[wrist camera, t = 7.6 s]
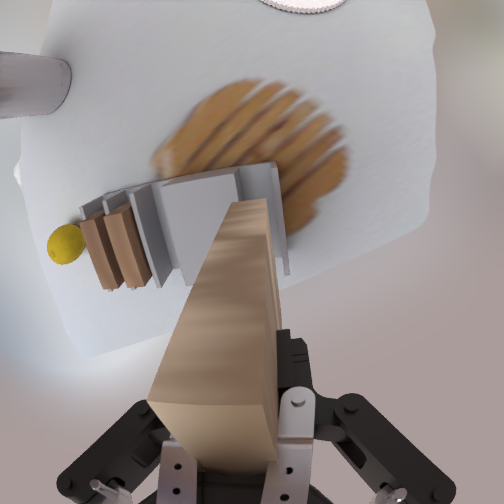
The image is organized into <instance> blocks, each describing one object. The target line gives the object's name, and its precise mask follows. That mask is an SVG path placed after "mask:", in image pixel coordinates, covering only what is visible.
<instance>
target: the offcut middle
mask: <svg viewBox="0 0 504 504" xmlns="http://www.w3.org/2000/svg"><path fill="white" fill-rule="evenodd" d="M103 218H104V221H105V225H106V228H107V231H108V234H109V238H110V241H111V244H112V247H113V250H114V253H115V255H116V258H117V261H118V264H119V267H120V269H121V272H122V275H123V277H124V280H125V283H126V285H127V288H131V287H144V286H145V285H146V284H147V282H148V281H149V280H150V278H151V277H152V272H151V269H150V266H149V263H148V260H147V256H146V253H145V250H144V247H143V244H142V240H141V237H140V234H139V230H138V227H137V223H136V220H135V216H134V212H133V209H132V205H131V201H128V202H127V203H125V204H123V205H122V206H120V207H119V208H117V209H115V210H114V211H112V212H111V213H109V214H107V215H106V216H104V217H103Z"/></svg>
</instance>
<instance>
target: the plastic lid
mask: <svg viewBox="0 0 504 504" xmlns="http://www.w3.org/2000/svg"><path fill="white" fill-rule="evenodd" d="M260 1H264V3H265V4H266V3H267V4H268V5H269V6H270V5H272V6H273V7H274V8H275V7H277V9H282V10H284V11H285V10H287V11H288V12H290V11H292V12H294V13H295V12H298V13H300V12H302V13H306V12H307V13H310V12H312V13H315V12H318V13H320V11H322V12H324V11H325V10H326V11H328V10H329V9H333V7H334V8H336V7H337V6H339V5H340V4H342V3H343V2H344V1H345V0H260Z"/></svg>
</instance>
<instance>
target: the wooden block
mask: <svg viewBox="0 0 504 504" xmlns="http://www.w3.org/2000/svg"><path fill="white" fill-rule="evenodd" d="M276 330H282V322H281V308H280V300H279V291H278V283H277V275H276V267H275V259H274V252H273V244H272V237H271V229H270V222H269V214H268V207H267V200H266V198H261V199H254V200H246V201H239V202H232V203H231V204H230V206H229V208H228V211H227V213H226V215H225V217H224V219H223V221H222V223H221V225H220V228H219V230H218V232H217V234H216V236H215V238H214V240H213V243H212V245H211V247H210V249H209V251H208V254H207V256H206V258H205V260H204V262H203V265H202V267H201V269H200V271H199V274H198V276H197V278H196V280H195V283H194V285H193V287H192V289H191V292H190V294H189V296H188V299H187V301H186V303H185V306H184V308H183V310H182V313H181V315H180V318H179V320H178V322H177V325H176V327H175V329H174V332H173V334H172V337H171V340H170V342H169V344H168V347H167V349H166V352H165V354H164V357H163V359H162V361H161V364H160V367H159V369H158V372H157V374H156V377H155V379H154V382H153V385H152V387H151V390H150V393H149V395H148V398H147V400H146V401H147V402H148V404H149V405H150V407H151V408H152V409H153V411H154V412H155V413H156V415H157V416H158V417H159V419H160V420H161V421H162V423H163V424H164V425H165V426H166V428H167V429H168V430H169V432H170V433H171V434H172V435H173V436H174V438H175V439H176V440H177V441H178V442H179V444H180V445H181V446H182V447H183V448H184V449H185V451H186V452H187V453H188V454H189V455H190V456H191V457H192V458H195V459H198V460H199V461H200V462H201V463H202V465H203V467H202V469H203V470H204V471H205V472H212V473H215V474H219V475H222V476H226V477H229V478H233V479H239V478H245V477H250V476H254V475H259V474H267V468H268V463H269V461H275V460H277V439H278V418H279V411H280V401H279V394H278V384H277V341H276Z"/></svg>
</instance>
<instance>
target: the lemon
mask: <svg viewBox="0 0 504 504" xmlns="http://www.w3.org/2000/svg"><path fill="white" fill-rule="evenodd" d="M84 247H85V240H84V237H83V234H82V231H81V229H80V228H79V227H77V226H76V225H72V224H66V225H63V226H61V227H59V228H57V229H56V230H55V231H54V232H53V233H52V234H51V236H50V237H49V240H48V243H47V251H48V254H49V256H50V258H51V259H52V260H53V261H54V262H56V263H58V264H62V265H63V264H68V263H71V262H73V261H74V260H76V259H77V258H78V257H79V256H80V255H81V254H82V252H83V250H84Z"/></svg>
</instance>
